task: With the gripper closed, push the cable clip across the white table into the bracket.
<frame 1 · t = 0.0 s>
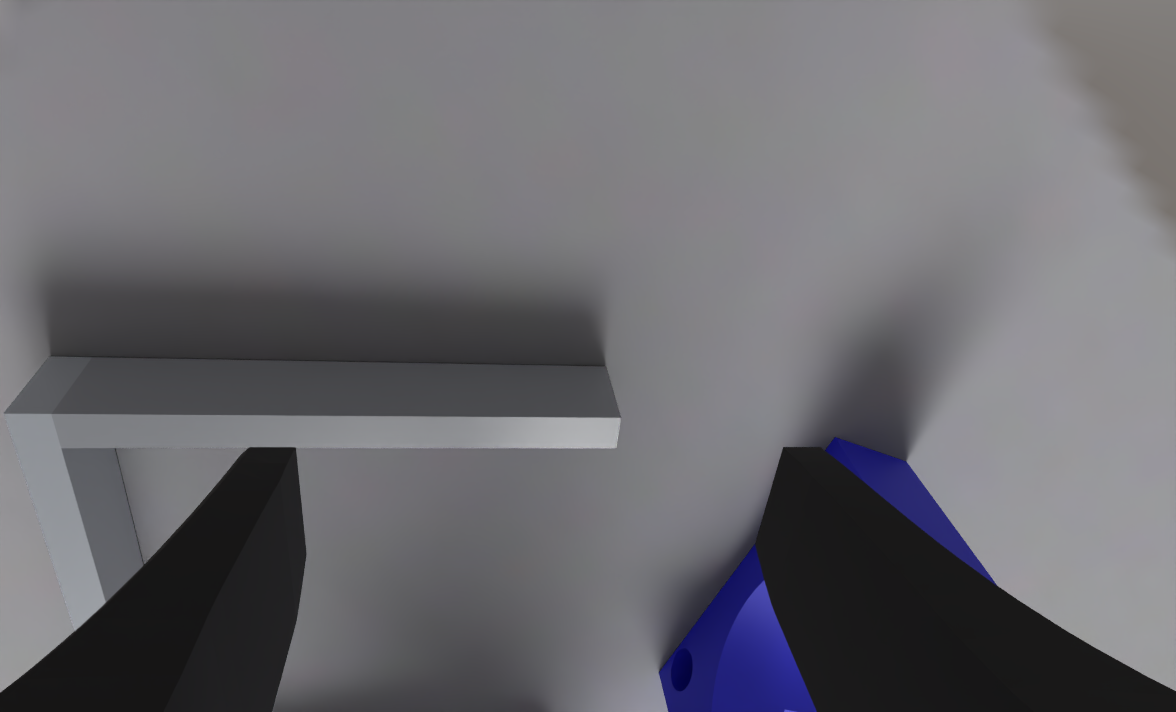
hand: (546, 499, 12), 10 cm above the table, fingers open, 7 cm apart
bracket: (365, 593, 27), on the table
cable clip: (787, 571, 29), on the table
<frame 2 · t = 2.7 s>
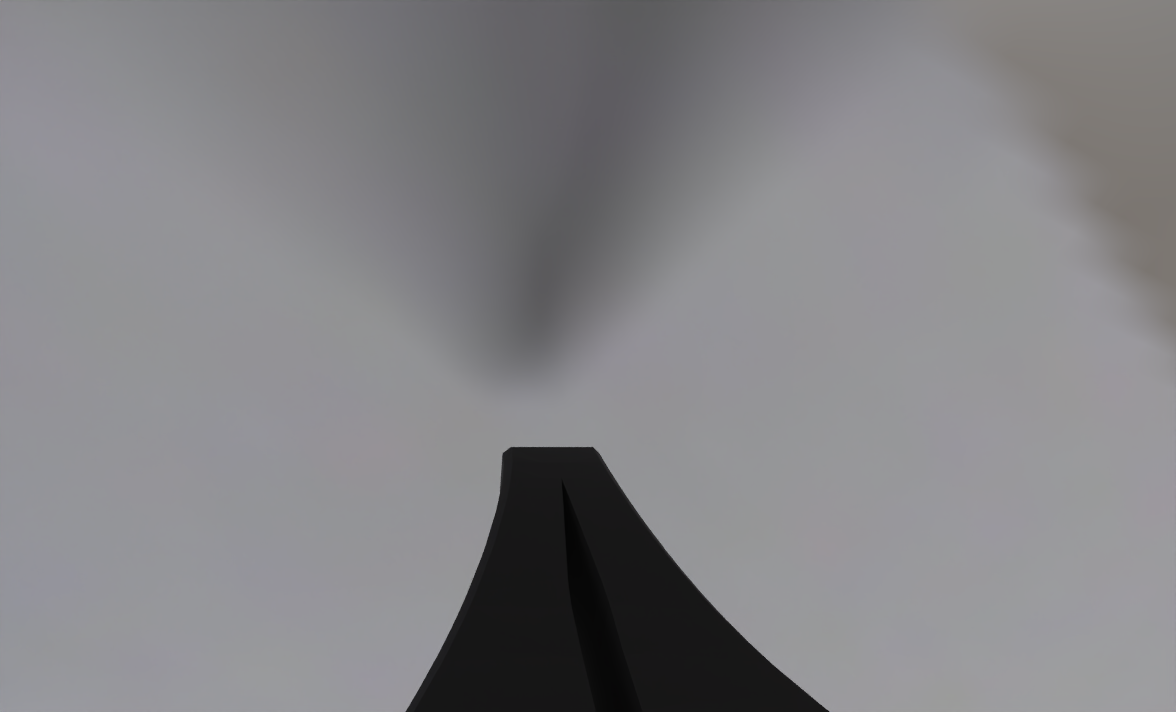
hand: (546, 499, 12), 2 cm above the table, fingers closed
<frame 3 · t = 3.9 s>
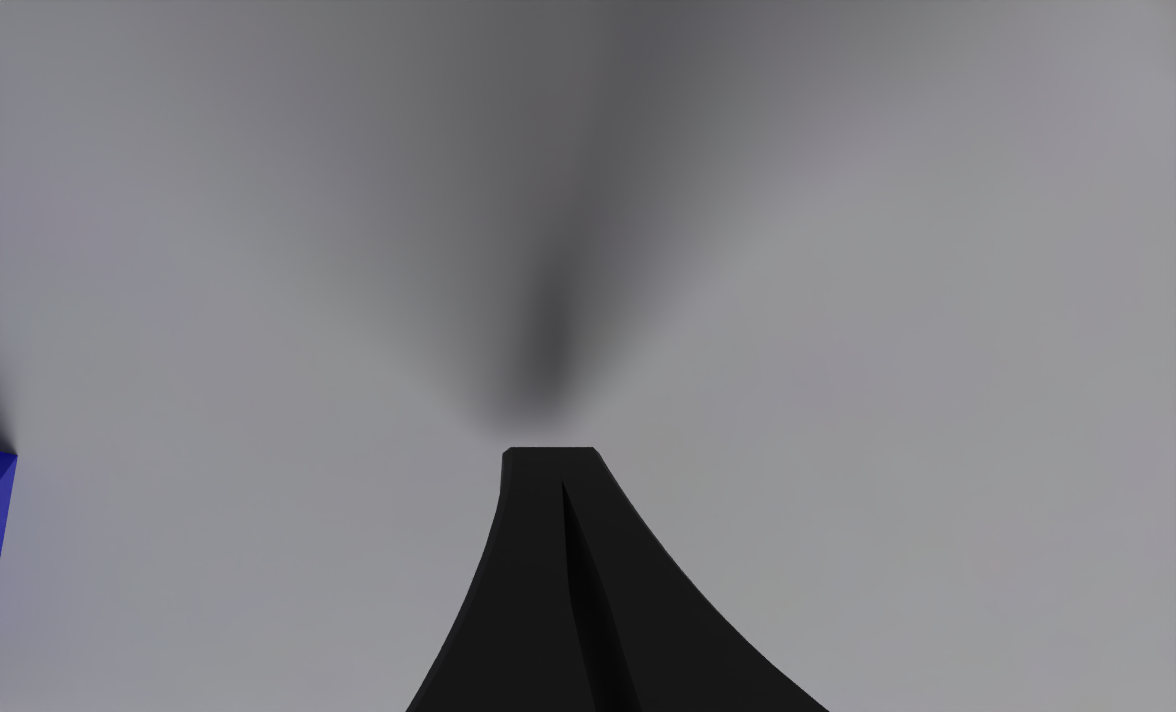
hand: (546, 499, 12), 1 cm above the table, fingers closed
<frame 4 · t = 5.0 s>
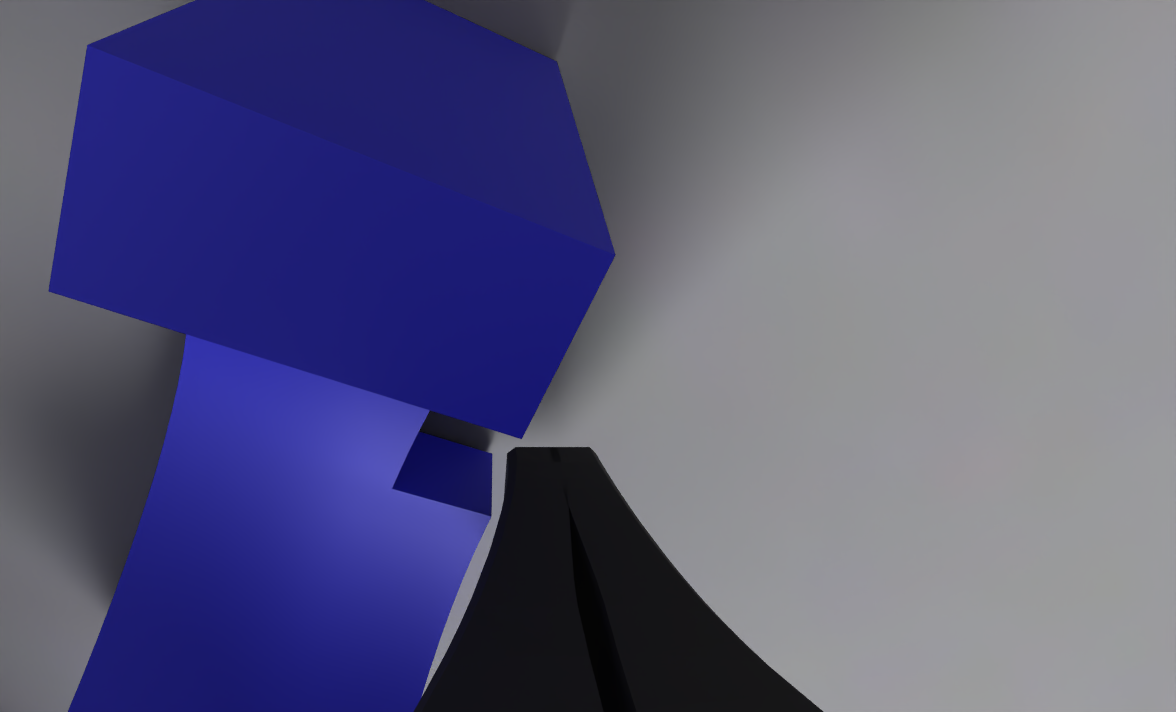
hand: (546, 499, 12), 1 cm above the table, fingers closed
cable clip: (357, 405, 13), on the table, touching gripper
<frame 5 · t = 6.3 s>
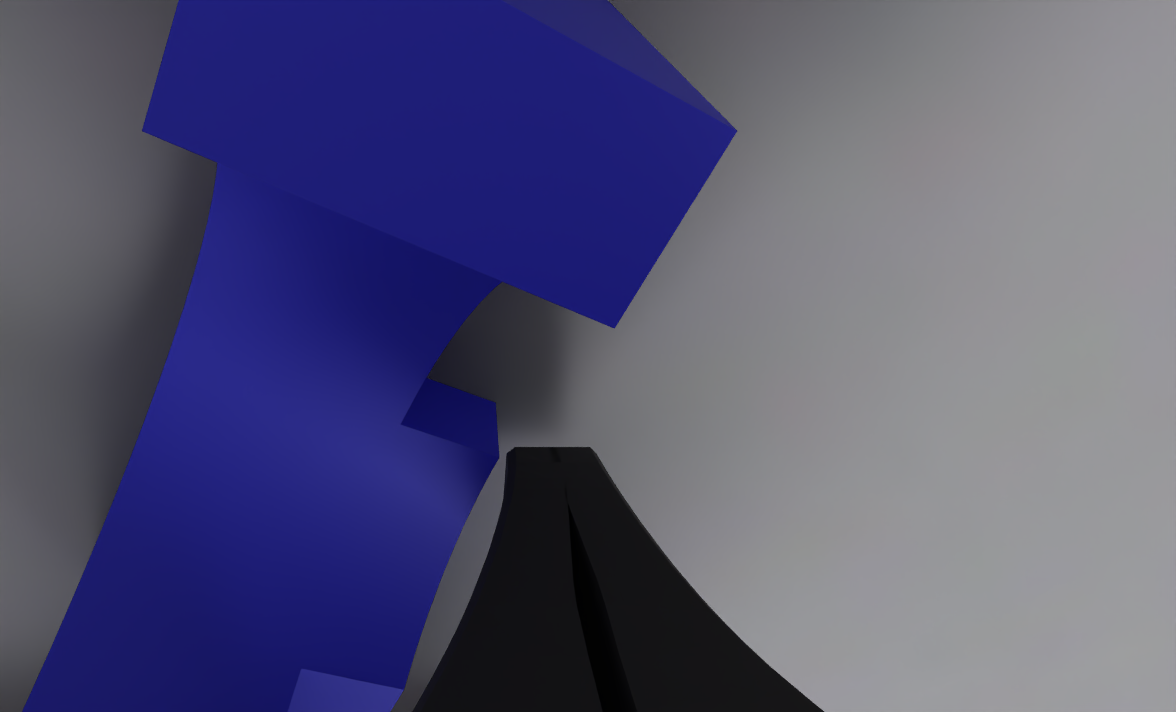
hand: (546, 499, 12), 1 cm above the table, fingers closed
cable clip: (360, 342, 12), on the table, touching bracket
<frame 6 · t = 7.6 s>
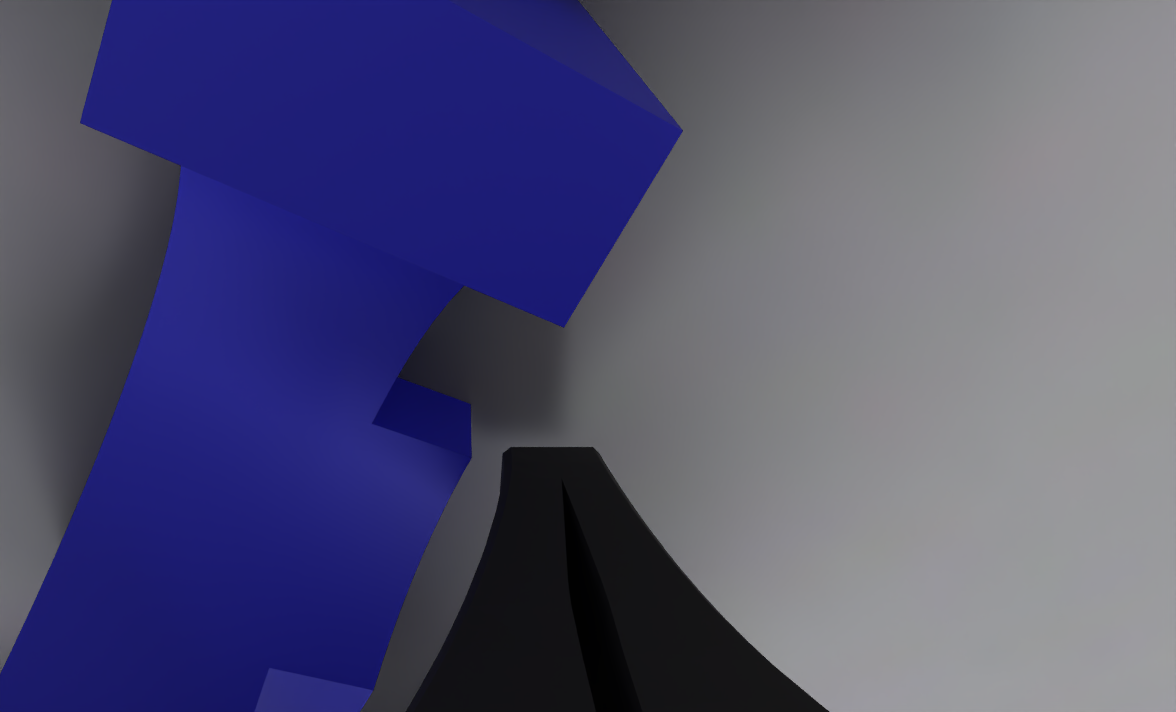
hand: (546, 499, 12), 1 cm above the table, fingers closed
cable clip: (334, 340, 12), on the table
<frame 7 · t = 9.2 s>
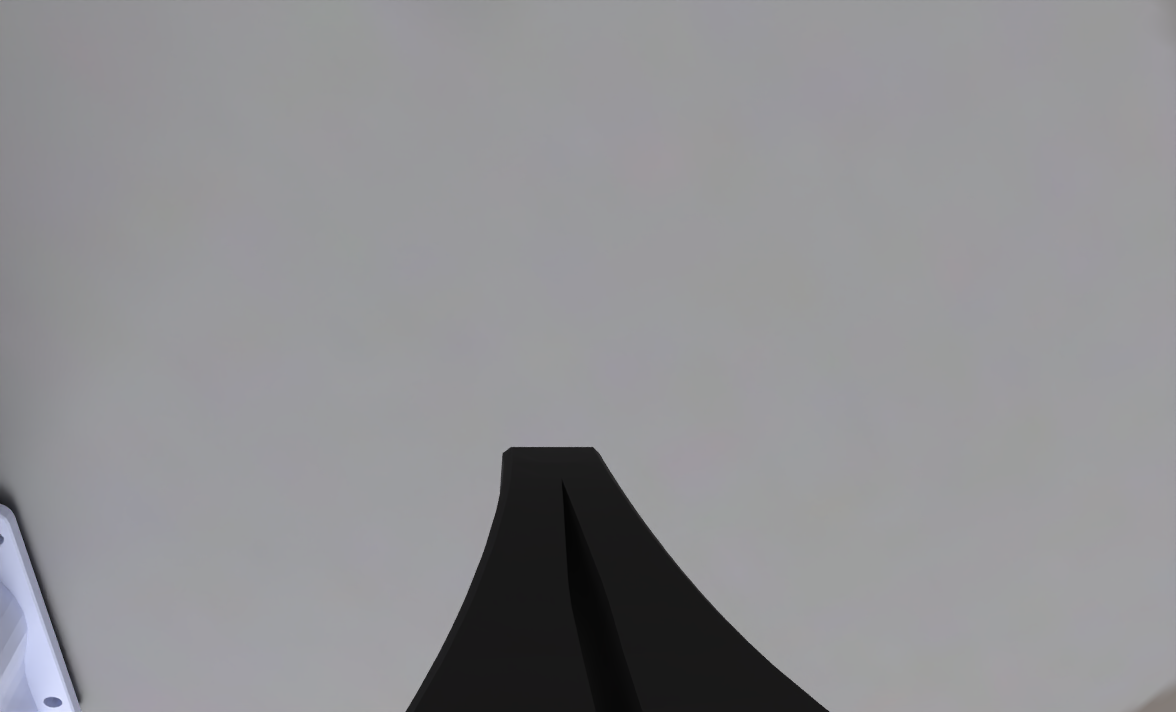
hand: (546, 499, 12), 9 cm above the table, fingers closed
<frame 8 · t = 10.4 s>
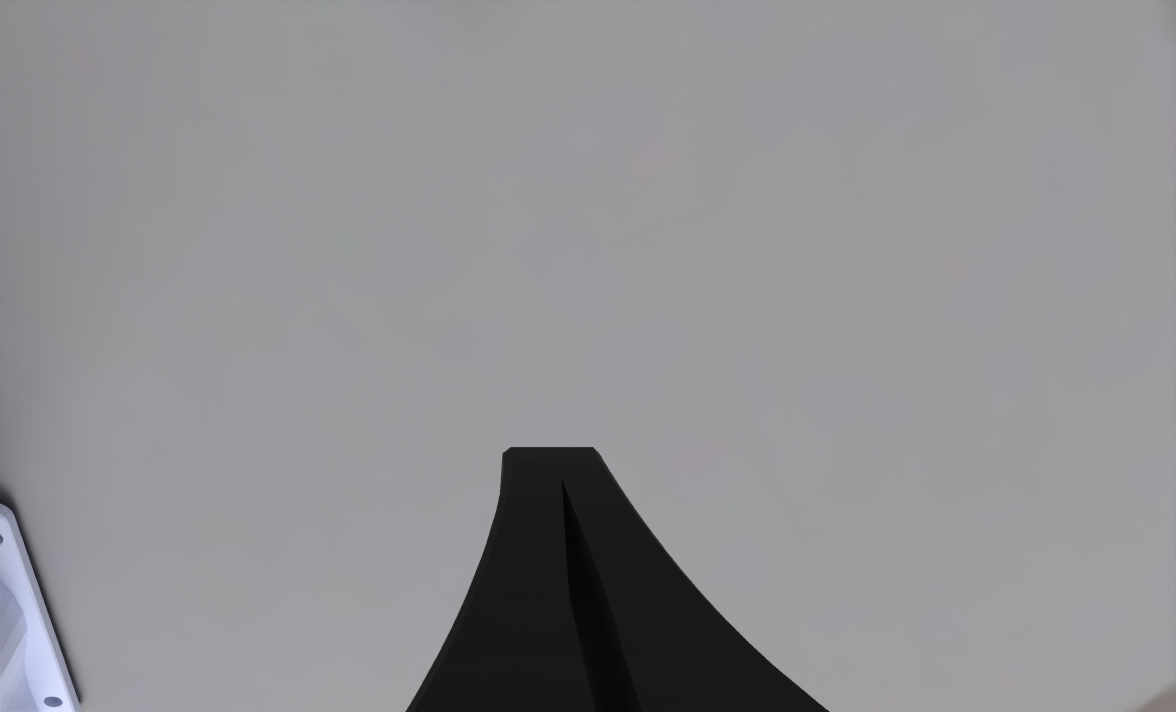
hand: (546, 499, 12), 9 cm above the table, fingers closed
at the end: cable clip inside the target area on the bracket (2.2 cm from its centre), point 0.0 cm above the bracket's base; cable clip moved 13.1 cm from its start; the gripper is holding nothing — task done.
